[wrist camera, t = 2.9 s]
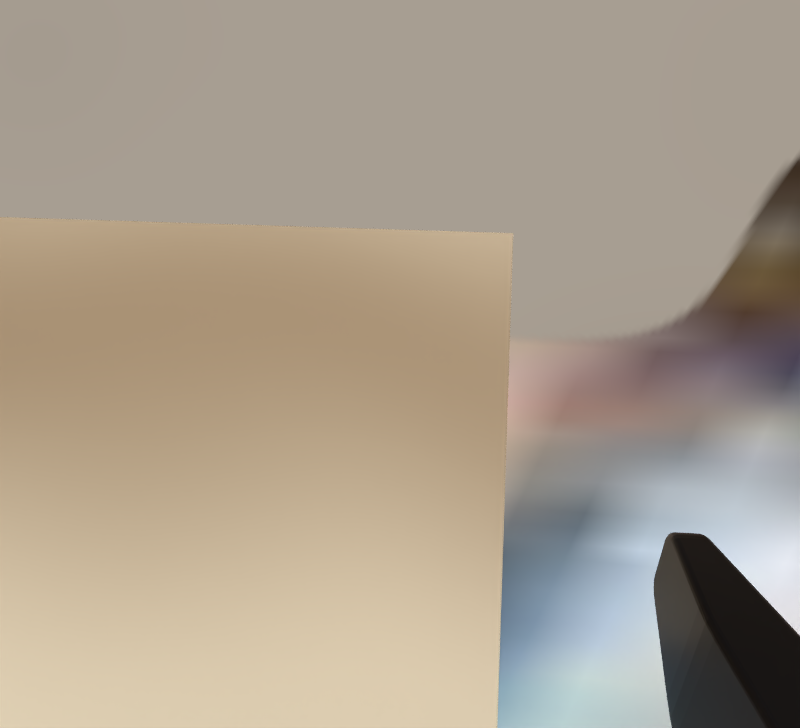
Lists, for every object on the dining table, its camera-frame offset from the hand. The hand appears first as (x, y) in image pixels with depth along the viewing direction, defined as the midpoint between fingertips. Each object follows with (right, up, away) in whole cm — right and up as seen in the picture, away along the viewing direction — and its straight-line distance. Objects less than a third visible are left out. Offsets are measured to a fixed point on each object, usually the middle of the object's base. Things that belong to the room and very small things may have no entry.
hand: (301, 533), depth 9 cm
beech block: (+1, -1, +8) cm, 8 cm away
